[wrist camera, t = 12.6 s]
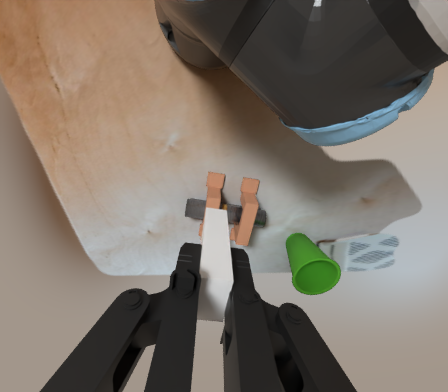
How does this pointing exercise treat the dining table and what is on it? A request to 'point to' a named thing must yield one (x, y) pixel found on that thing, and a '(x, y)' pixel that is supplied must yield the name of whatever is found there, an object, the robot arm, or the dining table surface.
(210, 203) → the collar
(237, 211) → the tube
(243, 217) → the collar
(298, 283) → the cup
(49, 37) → the dining table surface
